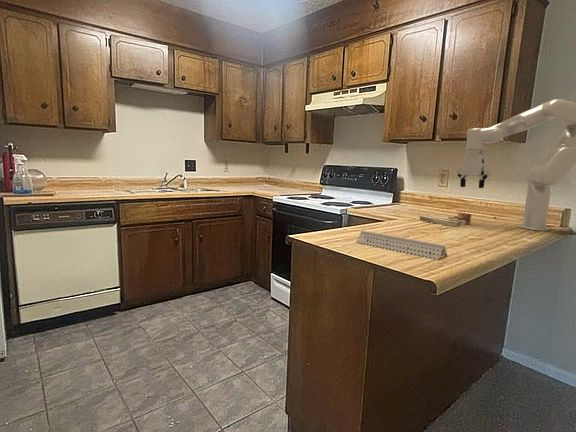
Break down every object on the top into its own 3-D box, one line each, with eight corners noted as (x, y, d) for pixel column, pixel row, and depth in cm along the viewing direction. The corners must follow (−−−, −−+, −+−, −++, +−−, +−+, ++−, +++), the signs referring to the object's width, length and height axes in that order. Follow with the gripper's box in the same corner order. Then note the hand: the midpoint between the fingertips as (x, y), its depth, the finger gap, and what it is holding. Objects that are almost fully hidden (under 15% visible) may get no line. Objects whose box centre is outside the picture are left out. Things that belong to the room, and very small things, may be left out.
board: (431, 219, 197) (431, 215, 197) (465, 225, 180) (465, 220, 180) (419, 220, 192) (420, 216, 191) (453, 226, 175) (454, 221, 175)
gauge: (462, 223, 188) (464, 213, 187) (470, 224, 184) (471, 214, 183) (445, 225, 180) (446, 214, 179) (452, 226, 176) (453, 215, 175)
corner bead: (354, 245, 133) (355, 231, 132) (367, 241, 139) (367, 229, 138) (437, 262, 111) (438, 247, 111) (448, 258, 118) (449, 243, 117)
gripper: (495, 153, 173) (492, 188, 176) (462, 154, 188) (460, 186, 190) (487, 152, 169) (484, 188, 172) (453, 153, 184) (451, 186, 186)
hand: (471, 187), depth 181 cm, fingers open, 9 cm apart
